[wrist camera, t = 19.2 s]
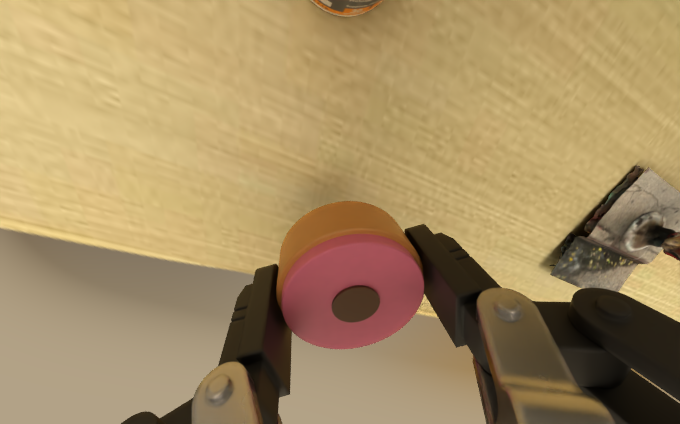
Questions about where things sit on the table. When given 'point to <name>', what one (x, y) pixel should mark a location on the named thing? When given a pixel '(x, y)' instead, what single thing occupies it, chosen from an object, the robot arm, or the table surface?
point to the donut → (348, 276)
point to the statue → (623, 234)
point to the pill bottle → (346, 6)
